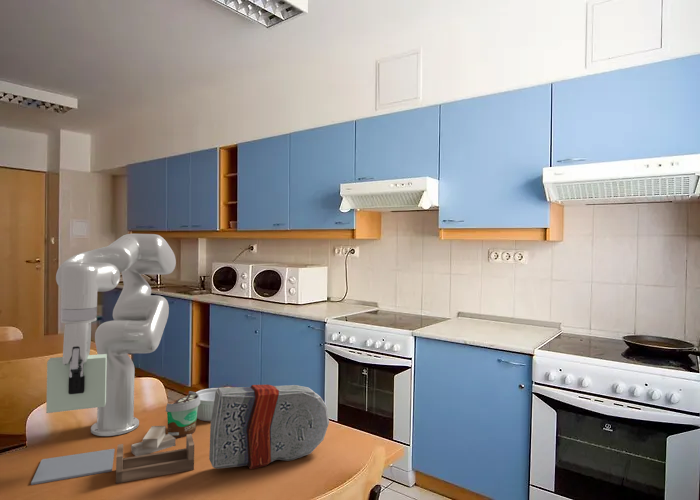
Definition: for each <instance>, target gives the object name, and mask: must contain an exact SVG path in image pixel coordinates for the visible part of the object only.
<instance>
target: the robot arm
mask: <svg viewBox="0 0 700 500" xmlns="http://www.w3.org/2000/svg"><path fill="white" fill-rule="evenodd" d="M176 263H177V261H176V255H175V253H174V250H172V248H171V246H170V245H169V243H168V242H167V241H166V239H164V237H162V236H161V235H159V234H155V233H127V234H124V235H122V236H120V237H119V238H117V239H116V240H115V241H113V242H111V243H110V244H108V246H103V247H99V248H94V249H92V250H88V251H83V252H80V253H77V254H74V255H72V256H71V257H69V258H67V259H66V260H65V261H63V262H62V263H61V264H60V266H59V267H58V268H57V271H56V275H55V281H56V284H57V286H58V287H59V288H60V289H61V291H60V292H61V295H60V297H61V300H60V301H61V303H60V323H61V324H65V325H64V332H63V347H62V357H63V361H62V364H63V365H64V366H65V365H66V364H68V363H69V361H70V375H69V391H68V393H69V394H79V393H84V384H85V376H83V370H84V364H85V363H86V362H87V359H88V357H89V355H91V354H90V353H91V352H90V351H91V346H92V345H91V343H92V323H93V322H96V321H97V320H98V292H109V291H112V290H114V289H115V288H116V287H117V286H118V285H119V283H120V280H121V276H122V282H123V283H122V284H123V288H122V290H121V292H120V294H119V297H118V298H117V301H116V303H115V305H114V307H113V310H112V318H113V320H107V321H105V322H102V323H101V324H99V326H98V327H97V328H96V329H95V333H94V342H95V346H96V347H95V348H96V352H97V354H96V355H99V354H107V372H106V403H105V407H96V408H97V409H96V410H97V413H96V416H97V417H96V418H97V419H96V420H97V421H96V422H95V423H94V424H92V425H91V427H90V433H91V434H93V435H94V436H98V437H112V436H120V435H125V434H127V433H130V432H132V431H134V430H136V429H137V428H138V427H139V425H140V420H139V418H137V417H135V415H134V413H135V370H136V369H135V365H134V362H133V360H132V359H131V357H130V356H129V354H150V353H153V352H155V351H156V350H157V349H158V347H159V345H160V343H161V340H162V337H163V335H164V334H163V333H164V331H165V327H166V325H167V322H168V319H169V312H170V311H169V310H170V307H169V306H170V305H169V302H168V300H167V299H166V297H164V296H161V295H157V294H156V295H151V294H152V287H151V286H150V283H148V281H147V280H146V278H144V277H143V276H142V275H169V274H172V273H173V272H174V270H175V268H176V265H177V264H176ZM81 358H82V360H81ZM79 361H82V363H79ZM79 366H81V368H80V367H79ZM80 369H81V370H80Z"/></svg>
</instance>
